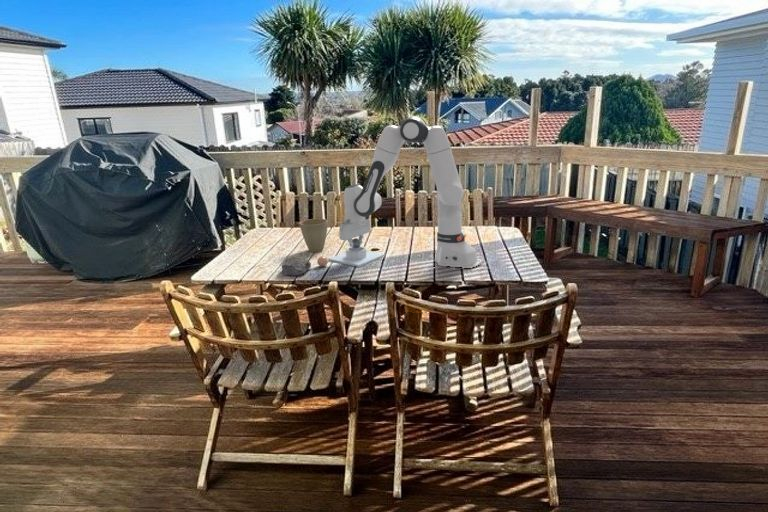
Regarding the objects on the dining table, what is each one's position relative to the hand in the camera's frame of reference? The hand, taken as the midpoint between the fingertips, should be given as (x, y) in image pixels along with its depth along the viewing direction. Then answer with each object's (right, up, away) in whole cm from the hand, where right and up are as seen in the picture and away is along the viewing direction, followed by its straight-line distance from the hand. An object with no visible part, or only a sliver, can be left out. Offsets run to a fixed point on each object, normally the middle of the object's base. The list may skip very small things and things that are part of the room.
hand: (356, 244), depth 224 cm
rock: (-27, -13, -14) cm, 33 cm away
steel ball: (0, +1, 0) cm, 1 cm away
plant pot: (-23, -3, +19) cm, 30 cm away
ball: (-16, -8, -9) cm, 20 cm away
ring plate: (0, -7, +2) cm, 7 cm away
